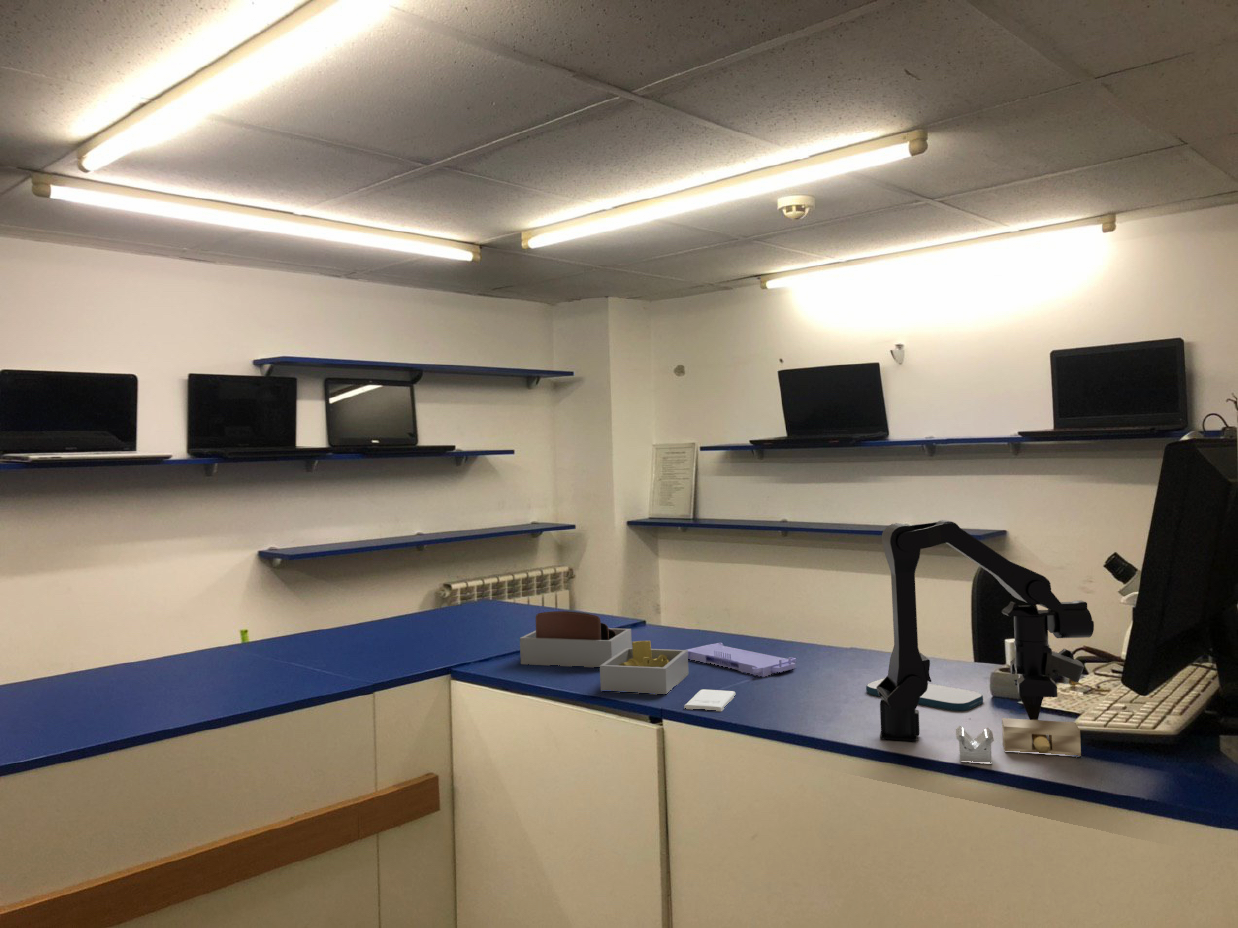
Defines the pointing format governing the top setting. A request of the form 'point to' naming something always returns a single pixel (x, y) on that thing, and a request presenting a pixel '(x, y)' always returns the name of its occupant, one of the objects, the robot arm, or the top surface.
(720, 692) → the external hard drive
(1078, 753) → the beam
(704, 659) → the computer part
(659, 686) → the tray
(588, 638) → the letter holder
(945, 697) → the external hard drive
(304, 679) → the top surface
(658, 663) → the ball valve
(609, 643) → the holder tray
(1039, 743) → the axle
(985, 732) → the v block
